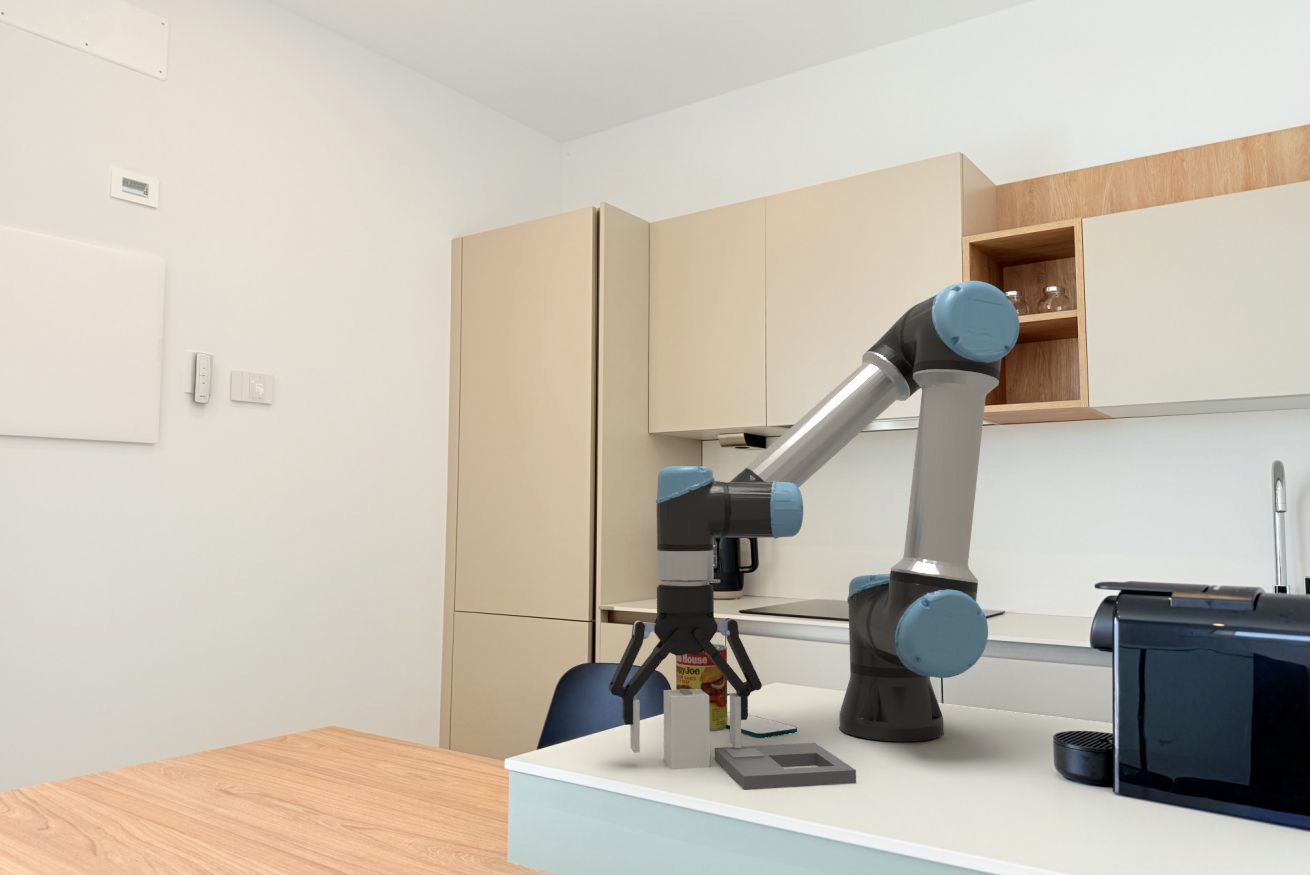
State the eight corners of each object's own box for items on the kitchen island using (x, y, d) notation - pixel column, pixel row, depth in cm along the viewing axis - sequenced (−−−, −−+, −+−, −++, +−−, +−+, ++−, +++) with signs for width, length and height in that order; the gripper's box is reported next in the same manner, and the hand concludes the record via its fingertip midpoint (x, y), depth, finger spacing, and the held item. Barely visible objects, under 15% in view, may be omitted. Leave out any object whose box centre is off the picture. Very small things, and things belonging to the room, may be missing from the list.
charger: (700, 757, 125) (700, 687, 126) (709, 767, 120) (709, 694, 121) (663, 759, 124) (663, 688, 125) (671, 769, 119) (671, 695, 120)
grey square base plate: (815, 754, 127) (814, 741, 127) (856, 782, 113) (855, 768, 113) (714, 759, 124) (714, 746, 124) (743, 789, 110) (743, 774, 110)
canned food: (666, 724, 145) (665, 645, 146) (705, 718, 150) (704, 641, 151) (698, 734, 139) (697, 651, 140) (738, 726, 143) (737, 647, 144)
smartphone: (696, 722, 149) (758, 740, 136) (696, 716, 149) (758, 734, 136) (736, 716, 153) (800, 734, 140) (736, 711, 153) (800, 727, 140)
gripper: (766, 579, 130) (768, 736, 128) (588, 582, 126) (587, 745, 124) (783, 583, 123) (786, 750, 121) (595, 586, 118) (594, 759, 116)
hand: (685, 748), depth 122 cm, fingers open, 13 cm apart
